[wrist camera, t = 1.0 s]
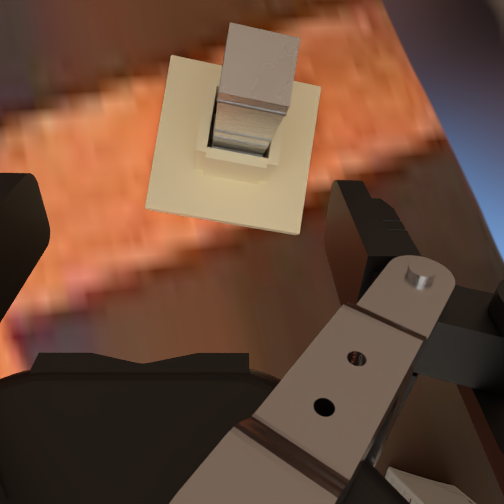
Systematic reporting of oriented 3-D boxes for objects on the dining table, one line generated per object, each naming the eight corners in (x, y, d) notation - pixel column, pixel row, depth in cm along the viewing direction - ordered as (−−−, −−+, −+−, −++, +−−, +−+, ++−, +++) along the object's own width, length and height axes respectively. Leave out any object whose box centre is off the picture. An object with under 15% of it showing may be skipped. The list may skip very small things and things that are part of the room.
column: (209, 162, 38) (216, 93, 24) (216, 117, 39) (228, 20, 24) (255, 171, 39) (291, 108, 24) (262, 126, 39) (302, 36, 24)
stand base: (146, 210, 39) (134, 195, 32) (172, 62, 40) (166, 15, 33) (295, 235, 41) (317, 227, 34) (316, 93, 42) (342, 54, 34)
